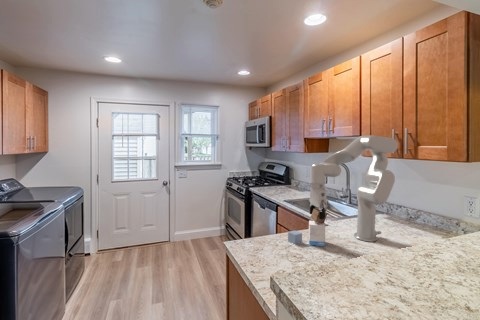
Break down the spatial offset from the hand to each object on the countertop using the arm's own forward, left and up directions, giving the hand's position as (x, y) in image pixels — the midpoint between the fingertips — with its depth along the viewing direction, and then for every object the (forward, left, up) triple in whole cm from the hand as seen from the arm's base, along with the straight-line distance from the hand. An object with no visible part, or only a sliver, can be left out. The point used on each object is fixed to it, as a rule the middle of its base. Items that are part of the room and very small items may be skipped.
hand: (317, 216), depth 139 cm
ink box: (0, 0, -16) cm, 16 cm away
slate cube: (+11, -4, -15) cm, 19 cm away
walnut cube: (0, 0, -2) cm, 2 cm away
